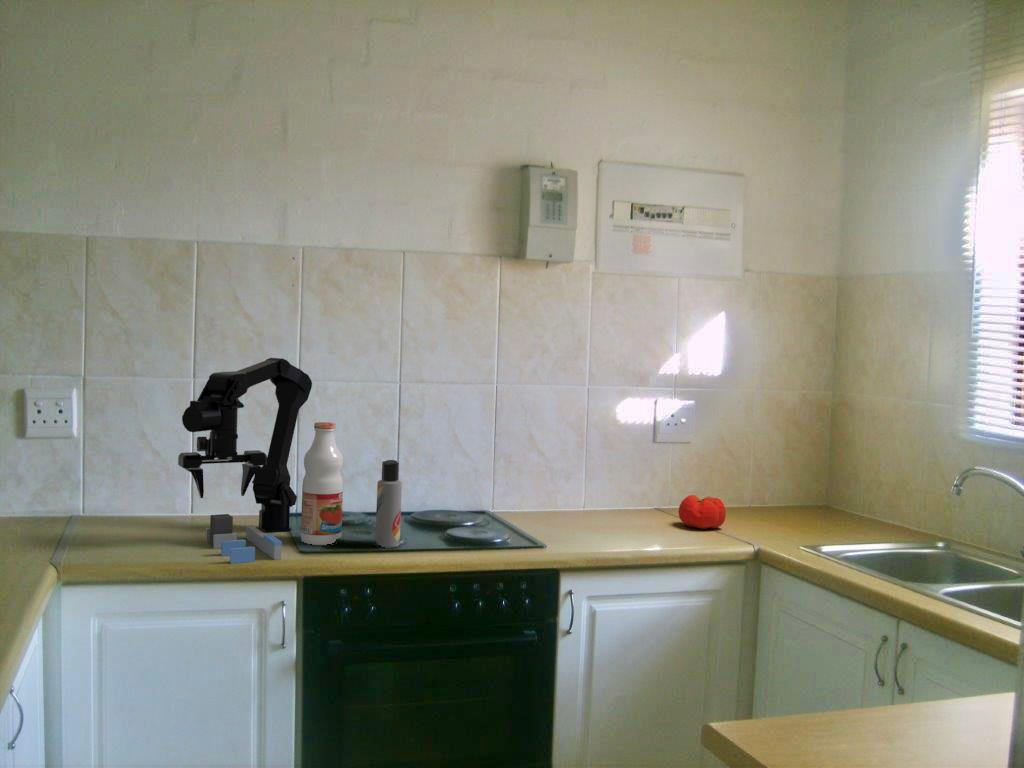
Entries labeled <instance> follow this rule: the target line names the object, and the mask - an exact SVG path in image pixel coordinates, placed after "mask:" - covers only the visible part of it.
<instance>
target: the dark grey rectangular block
mask: <svg viewBox="0 0 1024 768" xmlns="http://www.w3.org/2000/svg"><path fill="white" fill-rule="evenodd" d="M233 519H234V517H233V516H232V515H230V514H229V513H225V514H224V513H221V514H210V519H209V520H210V521H209V528H210V542H209V544H210V545H211V546H213V535H215V534H229V533H233V530H234V529H233V527H234V525H233V524H234V523H233V521H234V520H233Z"/></svg>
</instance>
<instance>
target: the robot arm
mask: <svg viewBox="0 0 1024 768" xmlns="http://www.w3.org/2000/svg"><path fill="white" fill-rule="evenodd" d="M268 380H269V381H270V382H271V383H272V385H274V386H275V390H274V391H275V392H274V393H275V397H276V400H277V403H278V409H277V412H276V416H275V422H274V427H273V430H272V434H271V438H270V439H271V440H270V444H269V449H268V453H267V454H266V453H265V452H264V451H261V450H244V451H243V454H238V450H237V448H238V447H237V446H238V445H237V444H238V443H237V441H238V439H239V434H238V411H239V410H238V409H243V408H245V405H244V403H243V402H242V401H240V399H239V398H241V397H242V396H243V395H245V394H247V392H248V390H249V389H250V388H251V387H254V386H255V385H259V384H262V383H263V382H266V381H268ZM312 387H313V382H312V379H311V378H310V375H308V373H305V372H304V371H303V370H302V369H300V368H298V367H297V366H295V365H293V364H291V363H290V361H288V360H287V359H285V358H279V357H269V358H266V359H265V360H263V361H260V362H258V363H255V364H252V365H249V366H246V367H243V368H241V369H238V370H234V371H219V372H218V371H217V372H213V373H211V374H209V376H208V380H207V382H206V384H205V385H204V387H203V389H202V390H201V392H200V394H199V396H198V397H197V400H190V401H189V406H188V407H186V409H185V410H184V412H183V415H182V417H181V421H182V425H183V427H184V428H185V430H187V431H188V432H190V433H199V432H207V431H209V438H207V436H197V438H196V451H197V452H194V451H192V452H189V451H188V452H180V454H179V455H178V457H177V458H178V460H177V465H178V466H179V467H181V468H182V469H184V470H186V472H188V473H191V475H192V478H193V479H194V482H195V485H196V488H197V492H198V495H199V498H200V499H204V492H205V491H204V490H205V489H204V487H205V486H204V469H203V468H201V466H202V465H207V464H210V465H211V464H233V463H234V464H235V463H238V464H239V463H242V464H241V466H242V475H241V486H240V495H241V497H244V496H245V494H246V492H247V490H248V489H249V488H248V487H249V485H250V484H251V483H252V484H253V485H252V492H253V495H254V498H255V499H254V500H255V504H257V505H258V504H261V507H260V508H261V509H259V510H258V529H260V530H262V531H263V532H265V533H270V532H271V533H273V532H287V531H292V527H291V526H290V520H291V519H290V518H291V517H290V515H291V513H290V512H291V508H292V507H294V506H295V505H296V503H297V500H298V499H297V498H298V496H297V494H296V493H295V491H294V490H293V489H292V487H291V474H290V472H289V469H288V461H289V457H290V452H291V446H292V442H293V439H294V434H295V430H296V425H297V420H298V415H299V411H300V409H301V408H302V406H303V405H304V404H305V403H306V402H307V401H308V399H309V396H310V393H311V390H312ZM199 452H204V454H205V455H202V454H200V453H199ZM252 479H253V480H252Z"/></svg>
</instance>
